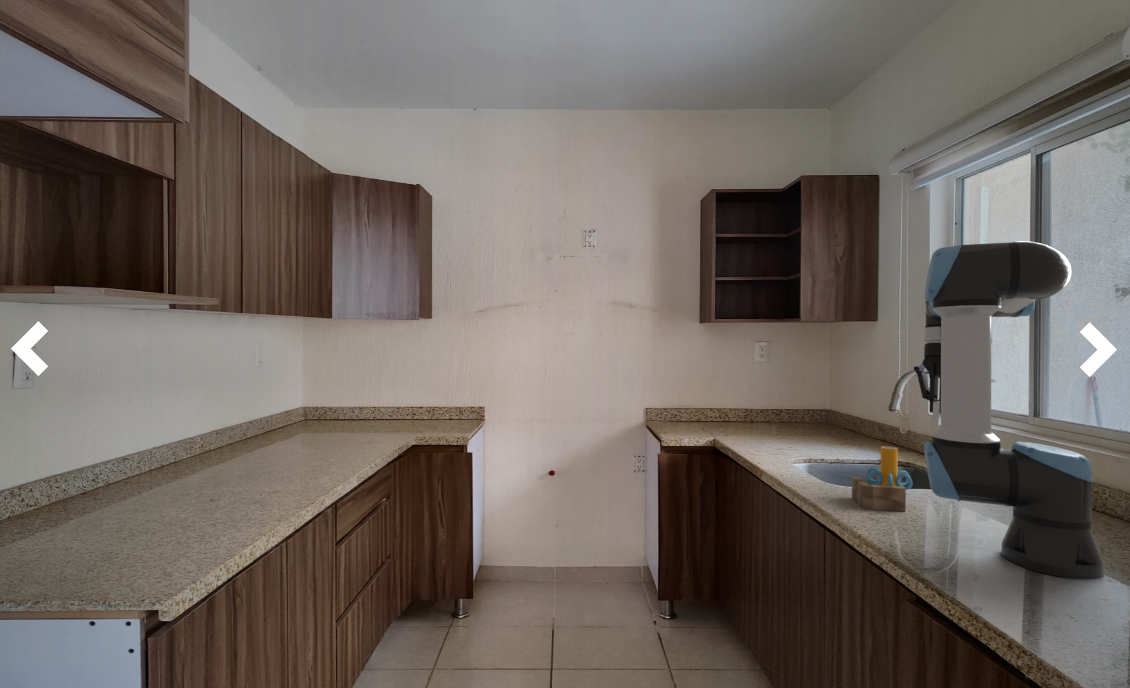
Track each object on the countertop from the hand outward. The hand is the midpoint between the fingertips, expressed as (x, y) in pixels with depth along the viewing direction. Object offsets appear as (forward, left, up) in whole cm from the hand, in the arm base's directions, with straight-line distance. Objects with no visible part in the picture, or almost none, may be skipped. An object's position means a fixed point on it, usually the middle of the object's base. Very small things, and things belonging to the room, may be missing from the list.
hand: (937, 424), depth 153 cm
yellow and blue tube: (-17, +9, -21) cm, 28 cm away
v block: (-24, +11, -20) cm, 33 cm away
